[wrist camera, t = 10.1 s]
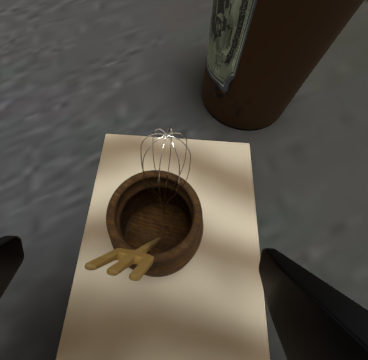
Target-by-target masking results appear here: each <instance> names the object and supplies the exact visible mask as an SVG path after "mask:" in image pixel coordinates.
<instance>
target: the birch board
mask: <svg viewBox="0 0 368 360" xmlns="http://www.w3.org/2000/svg"><path fill="white" fill-rule="evenodd" d="M146 137H147V136H132V135H117V134H106V136H105V141H104V145H103V150H102V154H101V159H100V163H99V168H98V172H97V177H96V181H95V186H94V190H93V195H92V199H91V204H90V208H89V213H88V217H87V222H86V226H85V231H84V235H83V239H82V244H81V248H80V253H79V257H78V262H77V266H76V271H75V275H74V280H73V284H72V289H71V293H70V298H69V302H68V307H67V311H66V316H65V320H64V325H63V329H62V334H61V338H60V343H59V347H58V352H57V356H56V360H270V354H269V344H268V333H267V323H266V312H265V302H264V291H263V286H262V282H261V278H260V274H259V262H260V250H259V239H258V229H257V218H256V208H255V198H254V187H253V177H252V166H251V156H250V146H249V143H236V142H221V141H206V140H191V139H187V147H188V149H189V150H190V153H191V165H190V153H189V151H188V149H187V152H186V146H185V145H184V144H183V143H182V142H184V143H185V144H186V139H180V140H181V141H182V142H181V141H179V140H178V139H175V138H172V143H173V144H174V146H175V149H176V151H177V154H178V158H179V162H180V172H181V170H182V172H181V174H180V177H181V178H183V179H184V180H186V179H187V176H188V172H189V165H190V172H189V176H188V179H187V182H188V183H189V184H190V185H191V186H192V187H193V189H194V190H195V192H196V193H197V195H198V197H199V200H200V203H201V207H202V214H203V236H202V240H201V243H200V246H199V248H198V250H197V252H196V253H195V255H194V256H193V258H192V259H191V260H190V261H189V262H188V264H187V265H186V266H184V267H183V268H182V269H181V270H179V271H177V272H176V273H173V274H171V275H168V276H163V277H151V276H147V275H143V276H142V278H141V279H140V280H139V281H133V280H130V279H129V274H130V273H131V272H132V271H133V269H131V268H129V267H128V268H126V269H125V270H123V271H122V272H121V273H119V274H118V275H116V276H112V275H108V274H107V269H108V268H109V267H111V266H112V265H114V264H115V263H116V262H118V261H119V260H115V261H113V262H111V263H109V264H107V265H104V266H102V267H100V268H98V269H96V270H87V269H85V264H86V263H87V262H89V261H91V260H93V259H96V258H98V257H100V256H102V255H104V254H106V253H108V252H110V251H112V250H114V249H113V246H112V243H111V240H110V237H109V234H108V231H107V225H106V211H107V207H108V203H109V201H110V199H111V197H112V195H113V193H114V192H115V190H116V189H117V188H118V187H119V186H120V185H121V184H122V183H123V182H124V181H125V180H127V179H128V178H130V177H131V176H133V175H135V174H138V173H141V172H142V165H141V143H142V141H143V140H144V139H145V138H146ZM158 138H160V137H154V141H156V140H157V139H158ZM170 139H171V138H170ZM164 140H165V138H161V139H159V140H157V141H156V142H155V143H154V162H155V167H154V162H153V145H152V146H151V147H150V148H149V146H150V145H151V144H152V143H153V137H148V138H146V139H145V140H144V142H143V144H142V161H143V157H144V154H145V152H146V151H147V149H148V148H149V149H148V151H147V153H146V155H145V157H144V162H143V170H144V171H150V170H155V168H156V170H159V163H160V157H161V152H162V147H163V143H164ZM170 146H171V157H170ZM175 149H174V147H173V145H172V144H171V141H170V140H169V138H166V140H165V144H164V148H163V152H162V158H161V164H160V170H162V171H167V172H168V166H169V172H171V173H174V174H176V175H178V176H179V163H178V158H177V155H176V152H175ZM185 152H186V159H185ZM169 158H170V165H169ZM184 159H185V164H184ZM183 164H184V167H183ZM182 167H183V169H182Z"/></svg>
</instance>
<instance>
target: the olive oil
mask: <svg viewBox="0 0 368 360" xmlns="http://www.w3.org/2000/svg"><path fill="white" fill-rule="evenodd" d="M363 1H364V0H213V9H212V18H211V26H210V35H209V44H208V52H207V59H206V69H205V76H204V83H203V100H204V103H205V106H206V107H207V109H208V110H209V112H210V113H211V114H212V115H213V116H214V117H215V118H216V119H218V120H219V121H221V122H222V123H224V124H226V125H228V126H231V127H234V128H238V129H244V130H255V129H260V128H264V127H267V126H269V125H271V124H272V123H273V122H275V121H276V120H277V119H278V118H279V117H280V115H281V114H282V112H283V111H284V110H285V108H286V107H287V105H288V104H289V103H290V101H291V100H292V98H293V97H294V95H295V94H296V93H297V91H298V90H299V88H300V87H301V86H302V84H303V83H304V81H305V80H306V79H307V77H308V76H309V74H310V73H311V72H312V70H313V69H314V68H315V66H316V65H317V63H318V62H319V61H320V59H321V58H322V57H323V55H324V54H325V53H326V51H327V50H328V49H329V47H330V46H331V44H332V43H333V42H334V40H335V39H336V38H337V36H338V35H339V34H340V32H341V31H342V29H343V28H344V27H345V25H346V24H347V23H348V21H349V20H350V19H351V17H352V16H353V15H354V13H355V12H356V11H357V9H358V8H359V7H360V5H361V4H362V3H363Z"/></svg>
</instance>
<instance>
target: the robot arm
mask: <svg viewBox="0 0 368 360" xmlns="http://www.w3.org/2000/svg"><path fill="white" fill-rule="evenodd" d="M23 259H24V252H23V247H22V242H21V238H20V237H18V236H4V237H1V238H0V298H1V296H2V295H3V293H4V292H5V290H6V288H7V287H8V285H9V283H10V282H11V280H12V278H13V277H14V275H15V273H16V272H17V270H18V269H19V267H20V265H21V264H22V262H23ZM259 274H260V278H261V282H262V286H263V289H264V293H265V297H266V301H267V305H268V308H269V312H270V315H271V318H272V320H273V323H274V326H275V328H276V331H277V334H278V336H279V339H280V342H281V344H282V347H283V350H284V352H285V355H286V358H287V360H368V310H366V309H365V308H363V307H362V306H360V305H359V304H357V303H356V302H354V301H353V300H351V299H350V298H348V297H347V296H345V295H344V294H342V293H341V292H339V291H338V290H336V289H335V288H333V287H332V286H330V285H329V284H327V283H325V282H324V281H322V280H321V279H319V278H318V277H316V276H315V275H313V274H312V273H310V272H309V271H307V270H306V269H304V268H303V267H301V266H300V265H298V264H297V263H295V262H294V261H292V260H291V259H289V258H288V257H286V256H285V255H283V254H282V253H280V252H279V251H277V250H276V249H272V248H264V249H263V250H262V253H261V258H260V262H259Z"/></svg>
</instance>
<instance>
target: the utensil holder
mask: <svg viewBox="0 0 368 360" xmlns="http://www.w3.org/2000/svg"><path fill="white" fill-rule="evenodd" d="M157 129H159V130H161V131H162V132H164V131H163V130H162V129H160V128H156V129H155V130H154V132H155V131H156V130H157ZM170 129H171V133H169V134H168V132H169V130H170ZM154 132H153V134H151V135H149V136H152V135H153V143H152V144H151V145H150V146H149V148H150V147H151V146H152V145H153V162H154V143H155V142H156V141H157V140H159V139H161V138H162V137H165V140H166V137H168V136H170V137H171V139H170V138H169V137H168V138H169V140H170V141H171V144H172V145H173V147H174V149H175V146H174V144H173V143H172V137H173V138H175V139H178V138H176V137H174V136H172V134H175V133H178V134H181V135H183V134H182V133H179V132H173V133H172V128H171V127H170V128H169V129H168V131H167V134H166V133H165V132H164V133H165V134H159V133H158V134H154ZM170 134H171V135H170ZM154 135H164V136H162V137H160V138H158V139H157V140H156V141H154ZM149 136H147V137H146V138H148V137H149ZM183 136H184V135H183ZM184 137H185V136H184ZM146 138H145V139H146ZM145 139H144V140H145ZM185 139H186V137H185ZM144 140H143V141H142V143H141V165H142V172H141V173H138V174H135V175H133V176H131V177H130V178H128V179H127V180H125V181H124V182H123V183H122V184H121V185H120V186H119V187H118V188H117V189H116V190H115V192H114V193H113V195H112V197H111V199H110V201H109V203H108V207H107V211H106V225H107V231H108V234H109V237H110V240H111V243H112V246H113V249H114V250H112V251H110V252H108V253H106V254H104V255H102V256H100V257H98V258H96V259H93V260H91V261H89V262H87V263H86V264H85V269H87V270H96V269H98V268H100V267H102V266H104V265H107V264H109V263H111V262H113V261H115V260H119V261H118V262H116V263H115V264H114V265H112V266H111V267H109V268H108V269H107V274H108V275H112V276H116V275H118V274H119V273H121V272H122V271H123V270H125V269H126V268H128V267H129V268H131V269H133V271H132V272H131V273H130V274H129V279H130V280H133V281H139V280H140V279H141V278H142V276H143V275H147V276H151V277H163V276H168V275H171V274H173V273H176V272H177V271H179V270H181V269H182V268H183V267H184V266H186V265H187V264H188V262H189V261H190V260H191V259H192V258H193V256H194V255H195V253H196V252H197V250H198V248H199V246H200V243H201V240H202V236H203V214H202V207H201V203H200V200H199V197H198V195H197V193H196V192H195V190H194V189H193V187H192V186H191V185H190V184H189V183H188V182H187V179H188V176H189V172H190V165H191V153H190V150H189V149H188V147H187V139H186V144H185V143H184V142H182V141H181V140H180V139H178V140H179V141H181V142H182V143H183V144H184V145H185V146H186V152H187V149H188V151H189V153H190V165H189V172H188V176H187V179H186V180H184V179H183V178H181V177H180V174H181V172H182V170H181V172H180V162H179V158H178V154H177V151H176V149H175V152H176V155H177V158H178V163H179V176H178V175H176V174H174V173H171V172H169V166H168V172H167V171H162V170H160V164H161V158H162V152H163V148H164V144H165V140H164V143H163V147H162V152H161V157H160V163H159V170H156V168H155V170H150V171H144V170H143V162H144V157H145V155H146V153H147V151H148V149H149V148H148V149H147V151H146V152H145V154H144V157H143V161H142V144H143V142H144ZM186 152H185V159H186ZM170 157H171V146H170ZM185 159H184V164H185ZM184 164H183V167H184ZM169 165H170V158H169ZM154 167H155V162H154ZM183 167H182V169H183Z"/></svg>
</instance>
